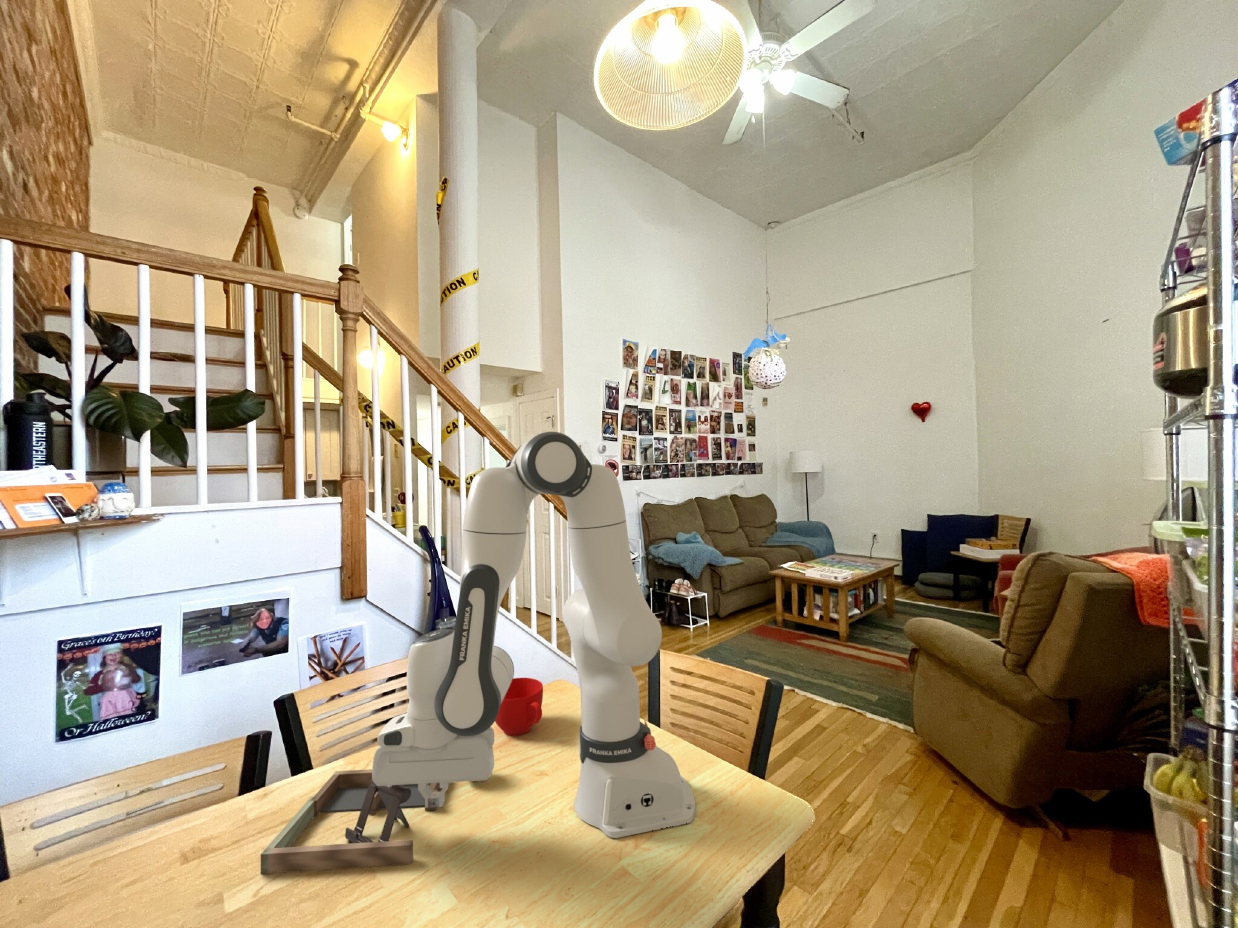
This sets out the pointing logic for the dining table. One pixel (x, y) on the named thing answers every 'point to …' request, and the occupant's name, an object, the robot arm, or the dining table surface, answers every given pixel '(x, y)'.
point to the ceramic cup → (520, 706)
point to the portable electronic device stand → (392, 801)
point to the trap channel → (337, 855)
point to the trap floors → (355, 798)
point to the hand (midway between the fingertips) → (435, 805)
